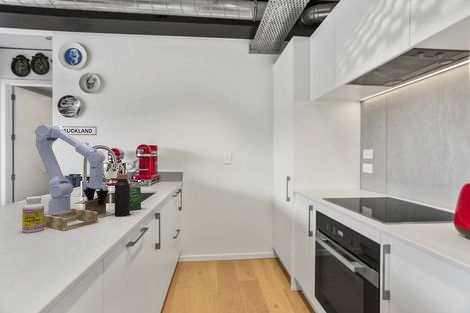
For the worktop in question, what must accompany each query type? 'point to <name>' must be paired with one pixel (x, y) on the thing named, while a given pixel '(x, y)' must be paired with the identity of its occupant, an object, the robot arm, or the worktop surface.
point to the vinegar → (122, 196)
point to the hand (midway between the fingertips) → (95, 204)
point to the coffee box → (135, 197)
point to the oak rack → (61, 224)
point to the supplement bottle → (33, 215)
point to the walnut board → (95, 206)
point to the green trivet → (105, 214)
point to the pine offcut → (71, 219)
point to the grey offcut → (63, 214)
